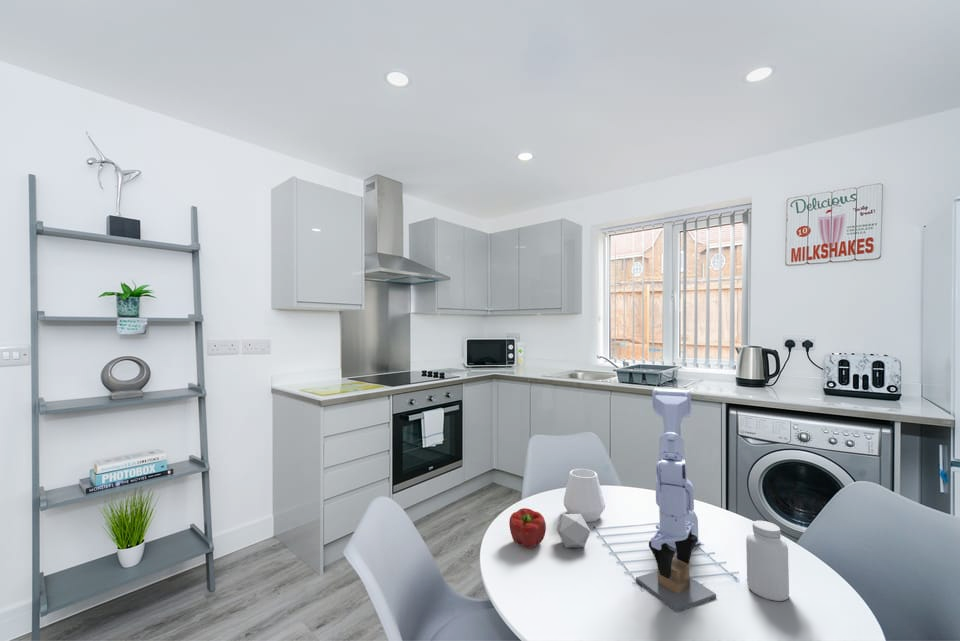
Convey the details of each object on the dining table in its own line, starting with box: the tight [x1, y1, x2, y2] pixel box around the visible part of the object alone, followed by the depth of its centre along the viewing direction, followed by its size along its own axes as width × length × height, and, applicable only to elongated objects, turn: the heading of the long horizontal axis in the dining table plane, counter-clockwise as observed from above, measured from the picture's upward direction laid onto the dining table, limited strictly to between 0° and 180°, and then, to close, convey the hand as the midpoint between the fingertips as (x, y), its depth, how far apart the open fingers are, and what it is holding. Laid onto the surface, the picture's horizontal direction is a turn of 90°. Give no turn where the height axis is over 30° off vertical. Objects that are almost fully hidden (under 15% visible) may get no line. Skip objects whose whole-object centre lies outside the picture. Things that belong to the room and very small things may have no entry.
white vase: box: [563, 468, 606, 523], centre depth 134 cm, size 13×13×14 cm
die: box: [556, 513, 591, 549], centre depth 115 cm, size 8×9×10 cm
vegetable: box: [508, 507, 547, 549], centre depth 115 cm, size 11×10×10 cm
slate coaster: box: [635, 570, 717, 613], centre depth 95 cm, size 12×12×1 cm
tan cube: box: [656, 556, 691, 594], centre depth 95 cm, size 5×5×5 cm
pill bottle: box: [745, 520, 790, 602], centre depth 94 cm, size 8×8×15 cm
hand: (674, 570), depth 95 cm, fingers open, 7 cm apart
